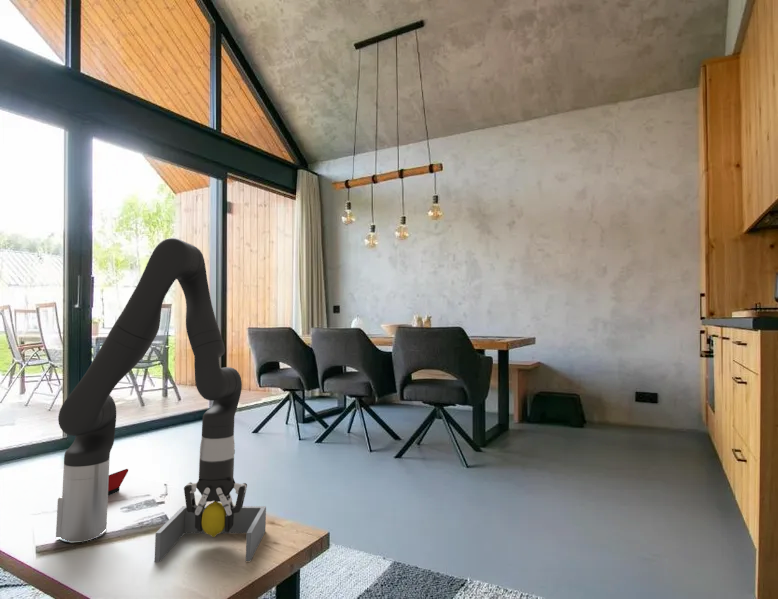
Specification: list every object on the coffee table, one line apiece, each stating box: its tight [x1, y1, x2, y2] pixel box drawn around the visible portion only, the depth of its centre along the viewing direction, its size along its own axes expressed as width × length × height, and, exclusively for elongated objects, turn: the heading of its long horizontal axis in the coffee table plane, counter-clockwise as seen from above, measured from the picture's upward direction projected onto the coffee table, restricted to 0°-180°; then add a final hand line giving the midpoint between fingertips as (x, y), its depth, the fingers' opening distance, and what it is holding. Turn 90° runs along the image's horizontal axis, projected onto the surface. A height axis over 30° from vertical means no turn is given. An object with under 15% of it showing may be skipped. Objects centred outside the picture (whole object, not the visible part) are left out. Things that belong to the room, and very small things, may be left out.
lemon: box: [202, 501, 226, 538], centre depth 111 cm, size 6×6×8 cm
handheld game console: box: [108, 468, 129, 497], centre depth 138 cm, size 12×11×7 cm
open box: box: [153, 505, 267, 563], centre depth 110 cm, size 20×15×6 cm
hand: (214, 530), depth 110 cm, fingers closed on lemon, 5 cm apart
